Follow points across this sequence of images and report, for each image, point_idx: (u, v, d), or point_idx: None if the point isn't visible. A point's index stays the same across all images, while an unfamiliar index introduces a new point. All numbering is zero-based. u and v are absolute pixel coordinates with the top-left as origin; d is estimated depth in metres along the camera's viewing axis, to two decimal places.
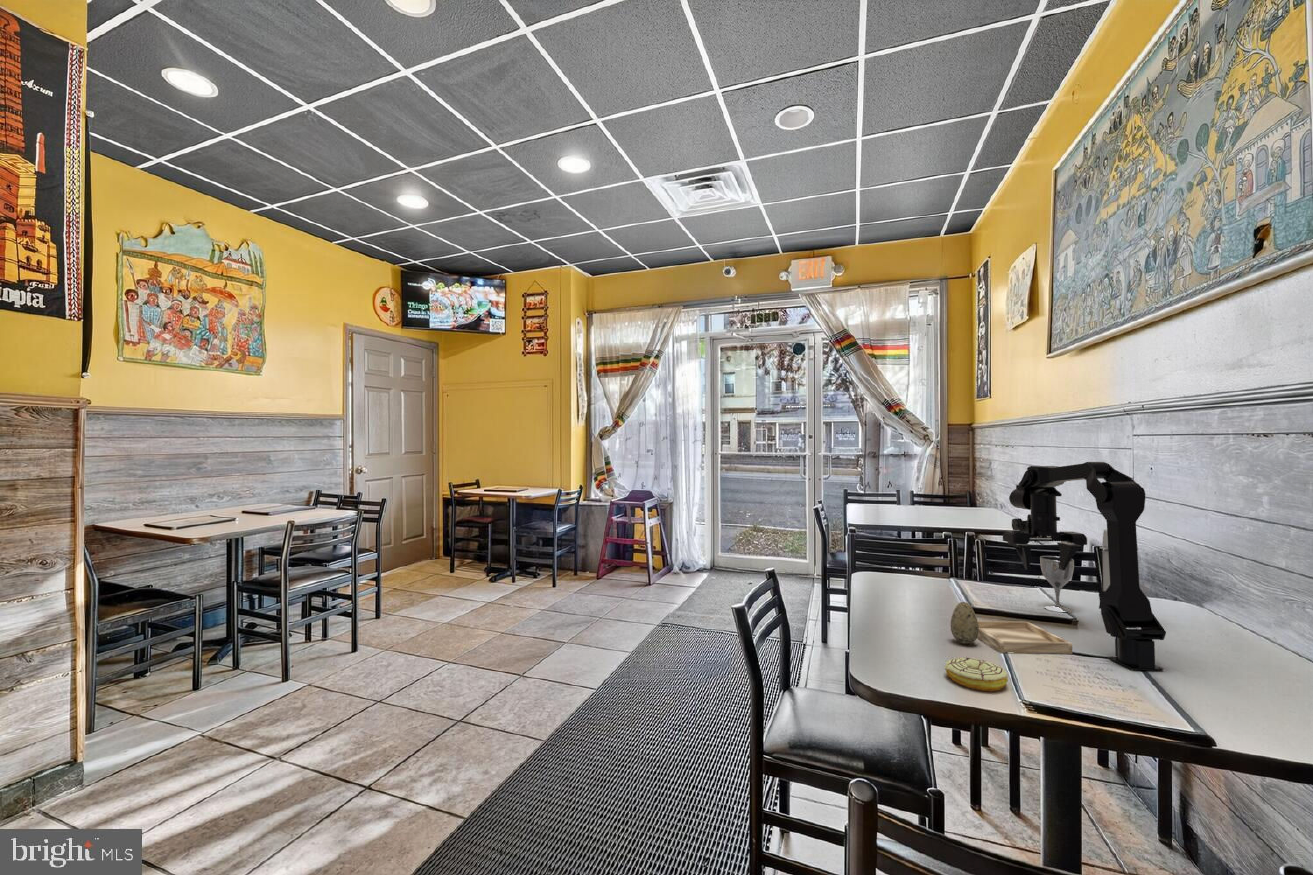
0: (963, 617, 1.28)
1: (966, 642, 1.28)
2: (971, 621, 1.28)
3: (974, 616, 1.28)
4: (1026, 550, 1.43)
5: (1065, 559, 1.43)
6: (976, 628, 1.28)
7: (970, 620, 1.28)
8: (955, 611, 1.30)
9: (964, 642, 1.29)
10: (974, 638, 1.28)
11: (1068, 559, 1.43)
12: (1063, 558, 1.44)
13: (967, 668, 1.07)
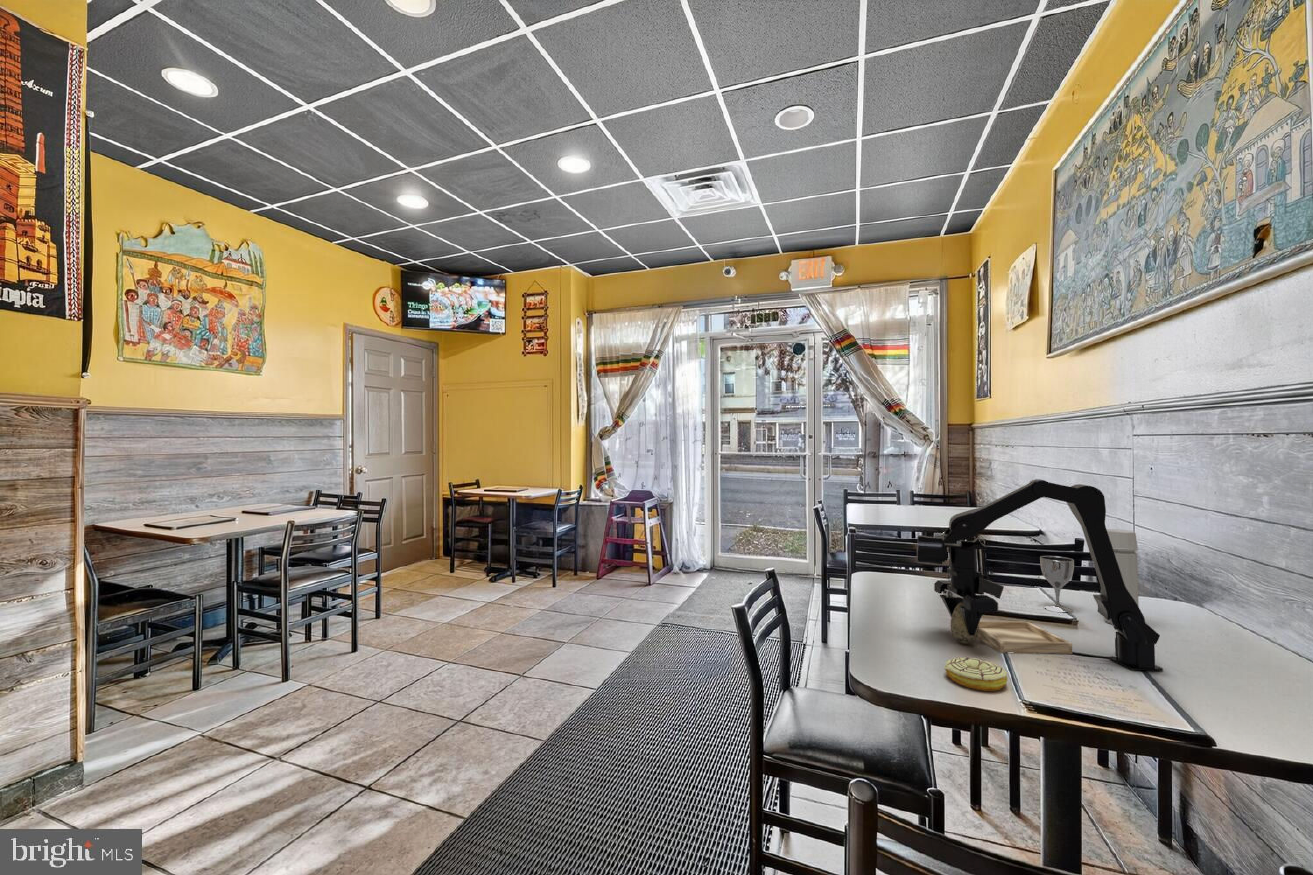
0: None
1: (966, 642, 1.28)
2: None
3: None
4: (944, 602, 1.35)
5: None
6: None
7: None
8: (954, 611, 1.30)
9: (964, 642, 1.29)
10: (974, 638, 1.28)
11: (965, 622, 1.27)
12: None
13: (967, 668, 1.07)
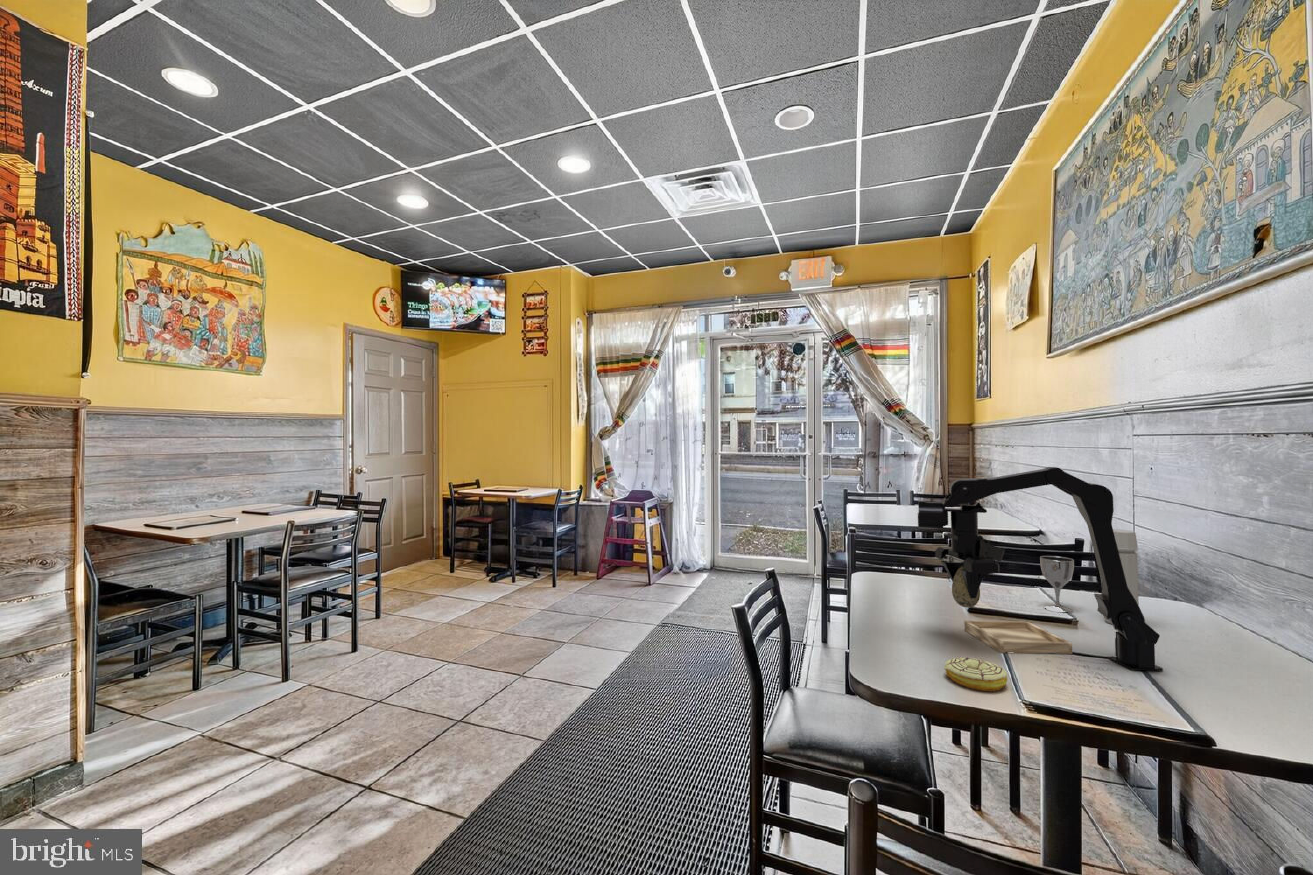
0: None
1: (967, 605, 1.28)
2: None
3: None
4: (945, 567, 1.35)
5: None
6: None
7: None
8: (956, 575, 1.31)
9: (965, 605, 1.29)
10: (975, 601, 1.28)
11: (967, 584, 1.27)
12: None
13: (967, 668, 1.07)
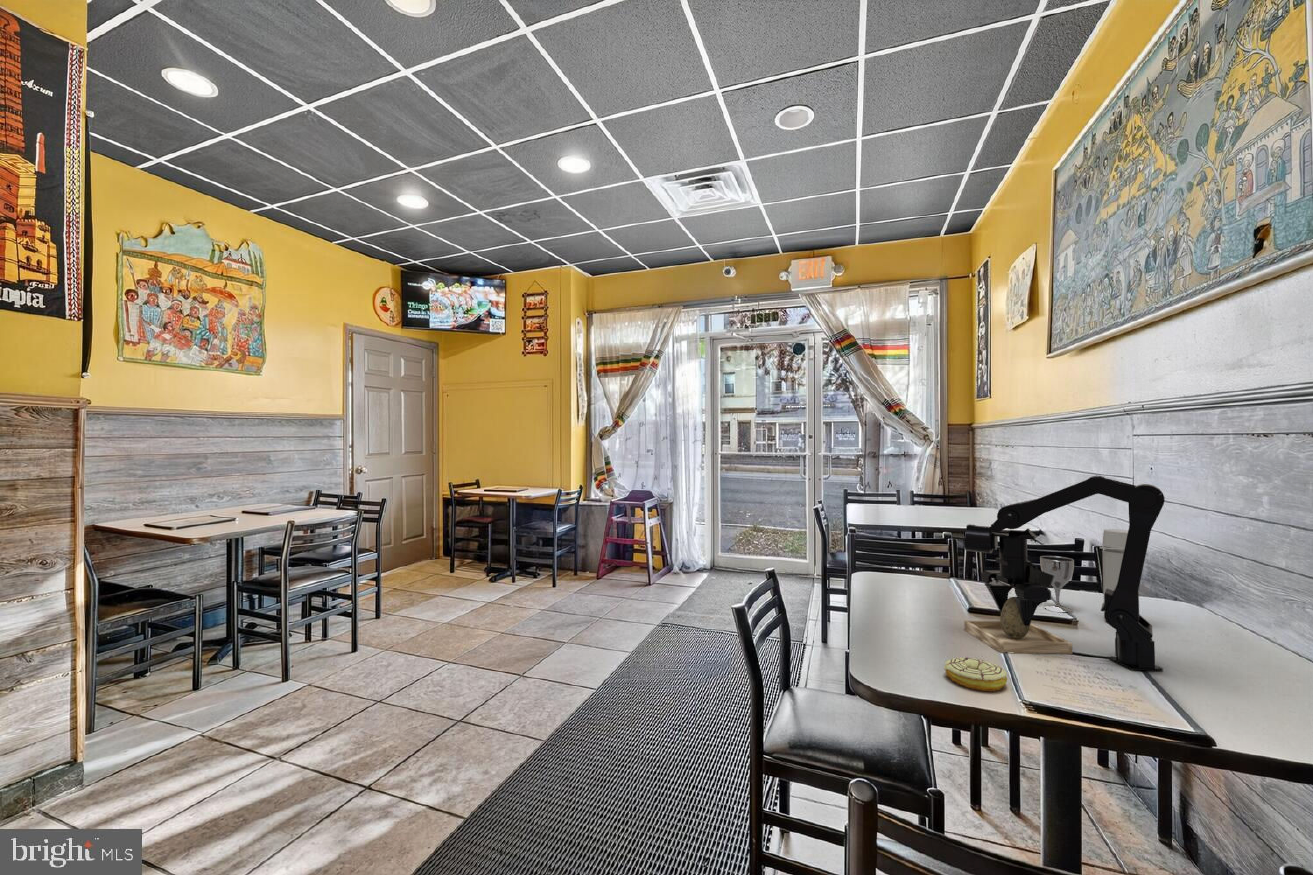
0: (1014, 611, 1.29)
1: (1017, 637, 1.30)
2: None
3: None
4: (989, 590, 1.38)
5: None
6: None
7: None
8: (1005, 606, 1.32)
9: (1015, 637, 1.30)
10: (1025, 633, 1.29)
11: (1020, 612, 1.27)
12: None
13: (967, 668, 1.07)
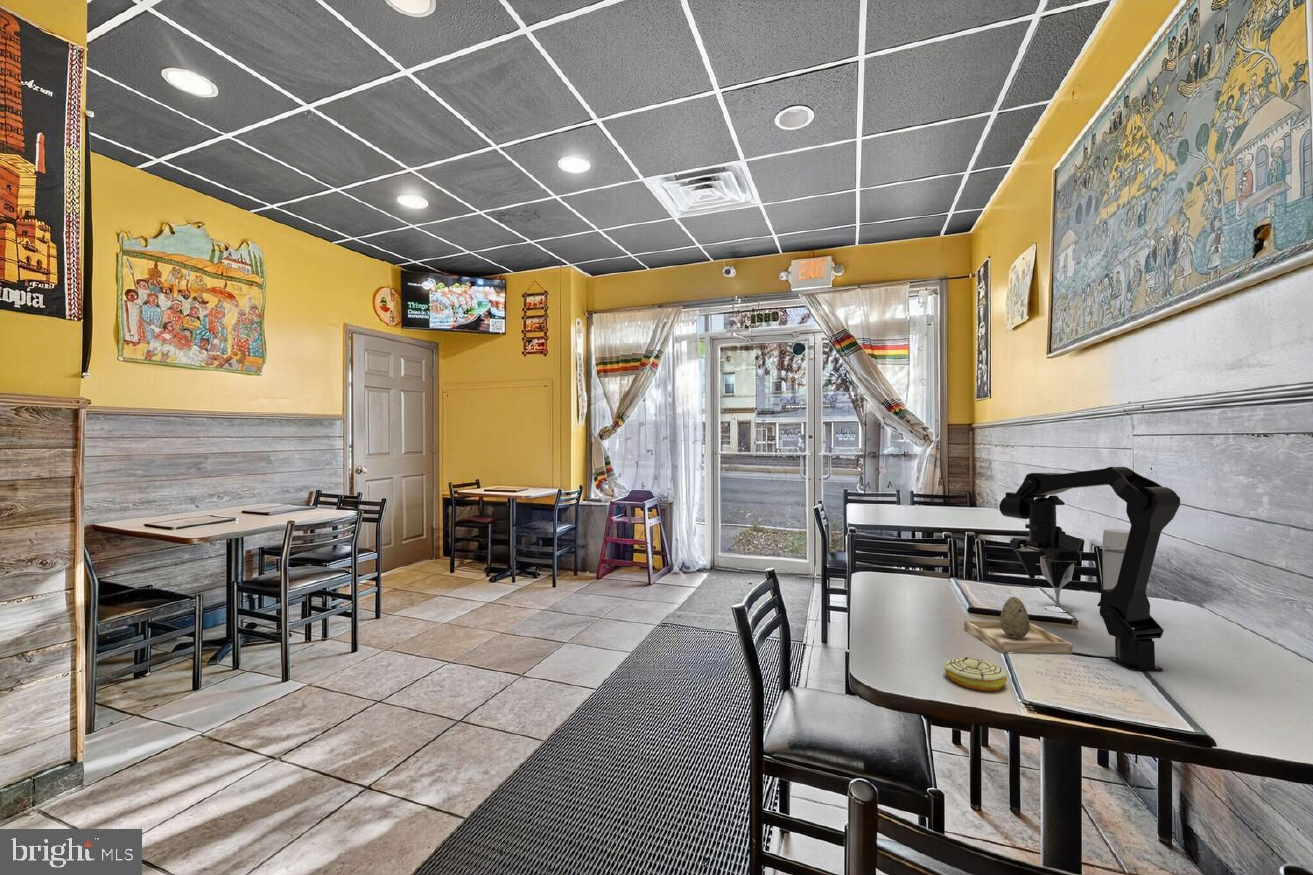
0: (1014, 612, 1.29)
1: (1017, 637, 1.30)
2: (1022, 615, 1.29)
3: (1025, 611, 1.30)
4: (1018, 556, 1.43)
5: None
6: (1027, 623, 1.29)
7: (1021, 614, 1.29)
8: (1005, 606, 1.32)
9: (1015, 637, 1.30)
10: (1025, 633, 1.29)
11: (1051, 574, 1.32)
12: None
13: (967, 668, 1.07)
